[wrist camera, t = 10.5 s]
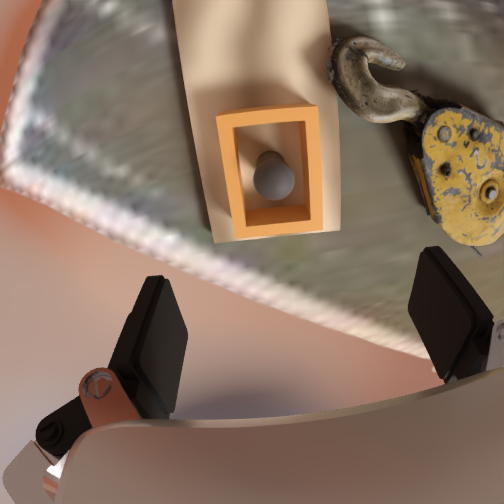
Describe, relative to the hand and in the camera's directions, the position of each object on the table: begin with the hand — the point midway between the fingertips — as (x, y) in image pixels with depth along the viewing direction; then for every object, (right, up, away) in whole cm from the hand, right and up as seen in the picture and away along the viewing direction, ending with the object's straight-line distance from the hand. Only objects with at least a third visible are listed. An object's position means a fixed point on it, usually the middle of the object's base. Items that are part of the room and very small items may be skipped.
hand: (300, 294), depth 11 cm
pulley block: (+17, +12, +14) cm, 25 cm away
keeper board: (-1, +16, +11) cm, 20 cm away
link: (0, +9, +14) cm, 17 cm away
